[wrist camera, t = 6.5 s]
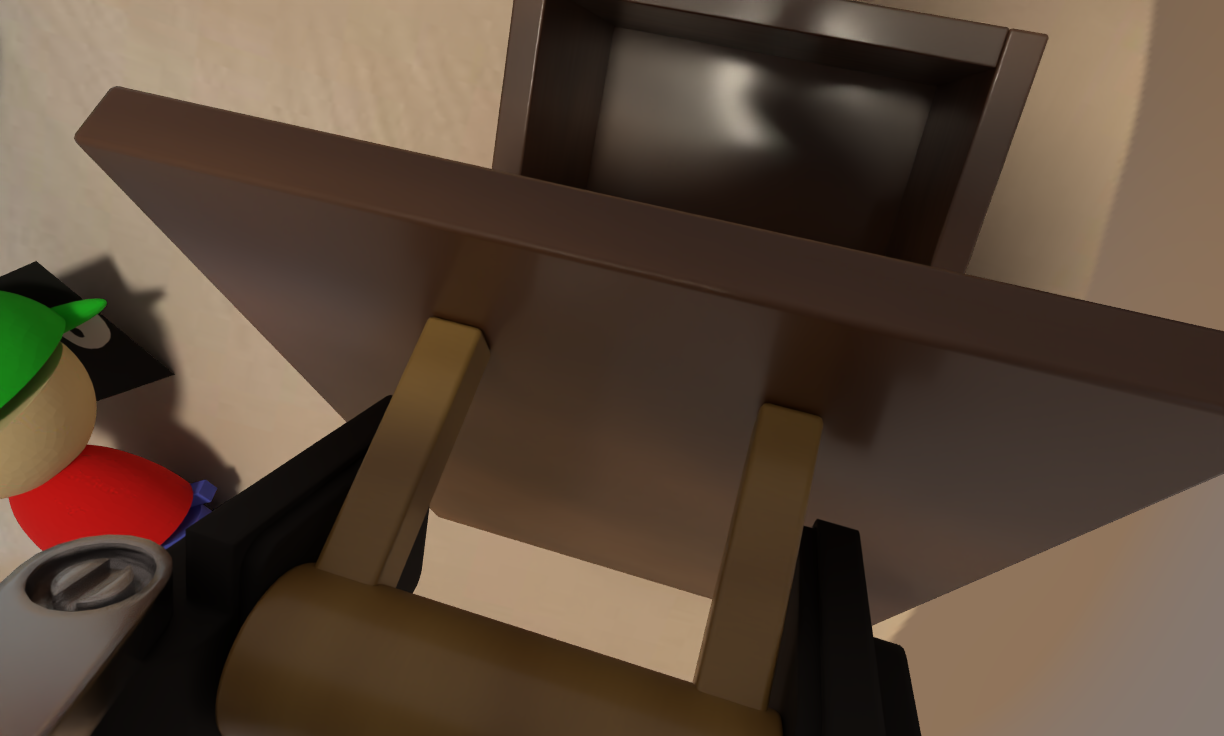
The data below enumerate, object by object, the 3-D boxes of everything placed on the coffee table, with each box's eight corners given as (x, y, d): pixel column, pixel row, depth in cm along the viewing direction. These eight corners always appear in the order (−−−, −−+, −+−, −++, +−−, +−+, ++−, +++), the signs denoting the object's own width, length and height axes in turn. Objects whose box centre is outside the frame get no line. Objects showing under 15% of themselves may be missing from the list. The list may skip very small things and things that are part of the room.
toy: (309, 452, 37) (31, 214, 27) (251, 604, 31) (-123, 375, 21) (179, 489, 39) (-118, 283, 29) (105, 635, 34) (-289, 443, 24)
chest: (601, -2, 24) (520, -57, 17) (968, 64, 23) (1050, 34, 15) (533, 406, 29) (448, 496, 22) (831, 486, 28) (845, 613, 20)
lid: (110, 81, 8) (-299, 608, 6) (1315, 348, 6) (1406, 1260, 4) (447, 490, 22) (366, 691, 20) (848, 609, 20) (809, 844, 18)
